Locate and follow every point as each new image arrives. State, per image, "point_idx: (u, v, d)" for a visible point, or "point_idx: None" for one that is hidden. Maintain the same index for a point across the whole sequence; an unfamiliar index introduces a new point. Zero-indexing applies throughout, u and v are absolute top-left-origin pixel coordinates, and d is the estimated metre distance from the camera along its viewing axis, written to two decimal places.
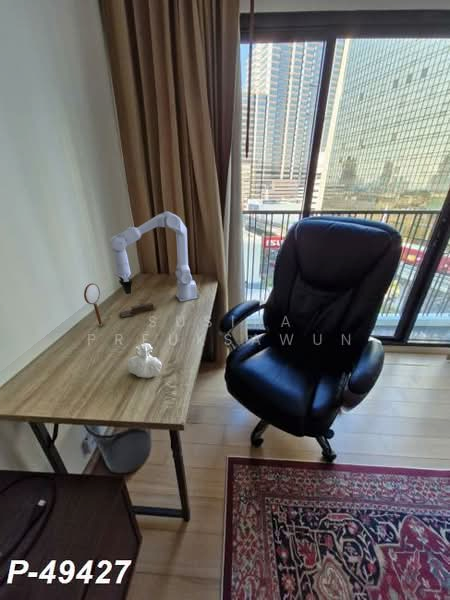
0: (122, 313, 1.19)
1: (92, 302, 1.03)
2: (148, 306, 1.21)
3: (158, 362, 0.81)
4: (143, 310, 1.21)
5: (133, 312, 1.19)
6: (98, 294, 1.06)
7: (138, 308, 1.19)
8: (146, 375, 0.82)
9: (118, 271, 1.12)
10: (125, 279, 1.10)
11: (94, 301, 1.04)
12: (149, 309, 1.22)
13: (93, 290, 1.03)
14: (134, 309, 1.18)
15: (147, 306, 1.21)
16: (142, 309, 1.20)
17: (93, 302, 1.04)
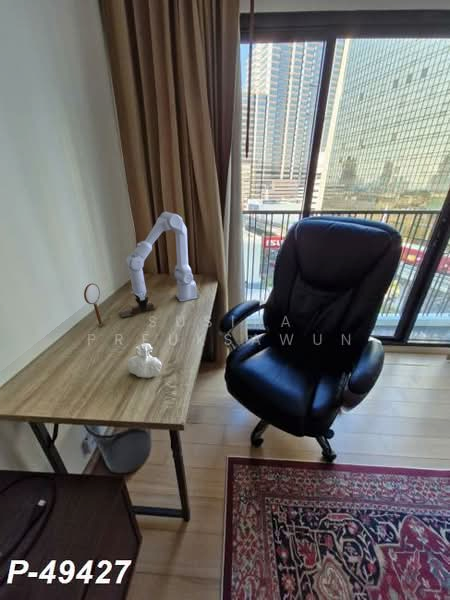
0: (122, 313, 1.19)
1: (92, 302, 1.03)
2: (148, 306, 1.21)
3: (158, 362, 0.81)
4: None
5: (133, 312, 1.19)
6: (98, 294, 1.06)
7: (138, 308, 1.19)
8: (146, 375, 0.82)
9: (134, 289, 1.14)
10: (141, 298, 1.11)
11: (94, 301, 1.04)
12: (149, 309, 1.22)
13: (93, 290, 1.03)
14: (134, 309, 1.18)
15: (147, 306, 1.21)
16: None
17: (93, 302, 1.04)
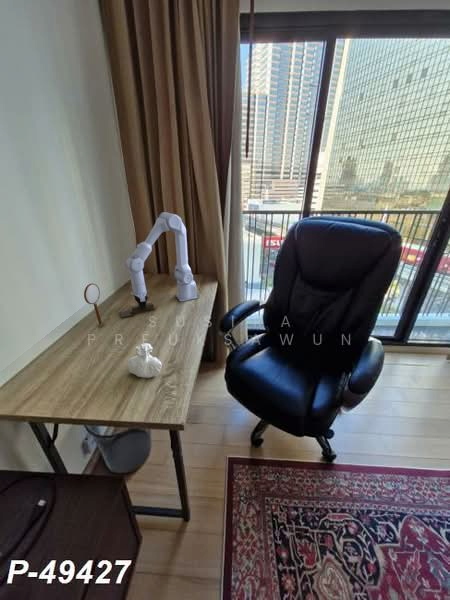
0: (122, 313, 1.19)
1: (92, 302, 1.03)
2: (148, 306, 1.21)
3: (158, 362, 0.81)
4: (143, 310, 1.21)
5: (133, 312, 1.19)
6: (98, 294, 1.06)
7: (138, 308, 1.19)
8: (146, 375, 0.82)
9: (134, 291, 1.14)
10: (142, 299, 1.11)
11: (94, 301, 1.04)
12: (149, 309, 1.22)
13: (93, 290, 1.03)
14: (134, 309, 1.18)
15: (147, 306, 1.21)
16: (142, 310, 1.20)
17: (93, 302, 1.04)
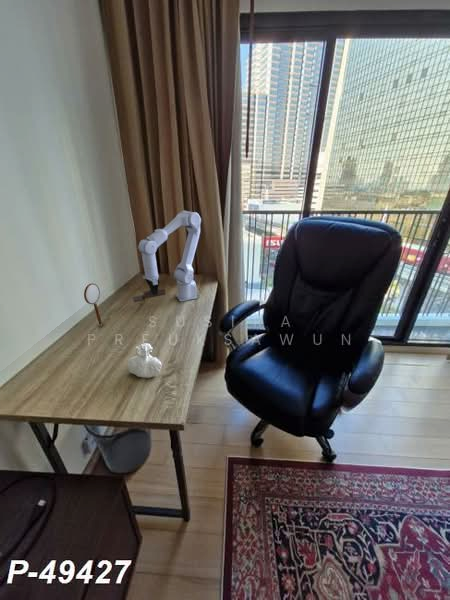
0: (134, 297, 1.18)
1: (92, 302, 1.03)
2: (160, 291, 1.20)
3: (158, 362, 0.81)
4: (155, 295, 1.20)
5: (145, 296, 1.18)
6: (98, 294, 1.06)
7: (150, 292, 1.18)
8: (146, 375, 0.82)
9: (147, 274, 1.14)
10: (154, 282, 1.11)
11: (94, 301, 1.04)
12: (161, 294, 1.21)
13: (93, 290, 1.03)
14: (146, 293, 1.18)
15: (159, 291, 1.20)
16: None
17: (93, 302, 1.04)
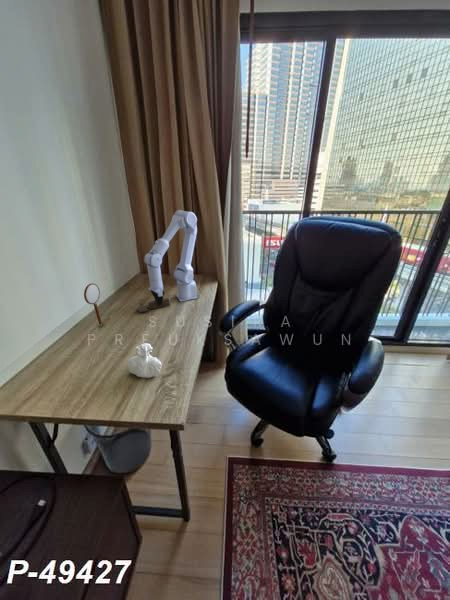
0: (139, 308, 1.22)
1: (92, 302, 1.03)
2: (164, 301, 1.24)
3: (158, 362, 0.81)
4: (159, 305, 1.23)
5: (150, 307, 1.21)
6: (98, 294, 1.06)
7: (155, 303, 1.22)
8: (146, 375, 0.82)
9: (152, 286, 1.17)
10: (159, 294, 1.14)
11: (94, 301, 1.04)
12: (165, 304, 1.24)
13: (93, 290, 1.03)
14: (151, 304, 1.21)
15: (163, 301, 1.23)
16: (159, 305, 1.23)
17: (93, 302, 1.04)
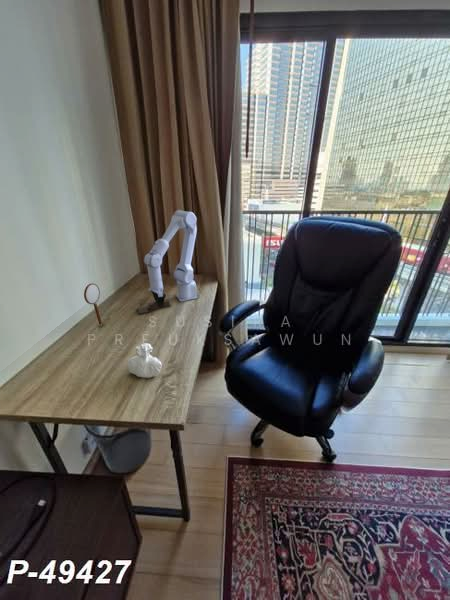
0: (139, 309, 1.22)
1: (92, 302, 1.03)
2: (164, 303, 1.24)
3: (158, 362, 0.81)
4: None
5: (150, 308, 1.22)
6: (98, 294, 1.06)
7: (155, 304, 1.22)
8: (146, 375, 0.82)
9: (152, 286, 1.17)
10: (159, 294, 1.14)
11: (94, 301, 1.04)
12: (165, 305, 1.25)
13: (93, 290, 1.03)
14: (151, 305, 1.21)
15: None
16: None
17: (93, 302, 1.04)
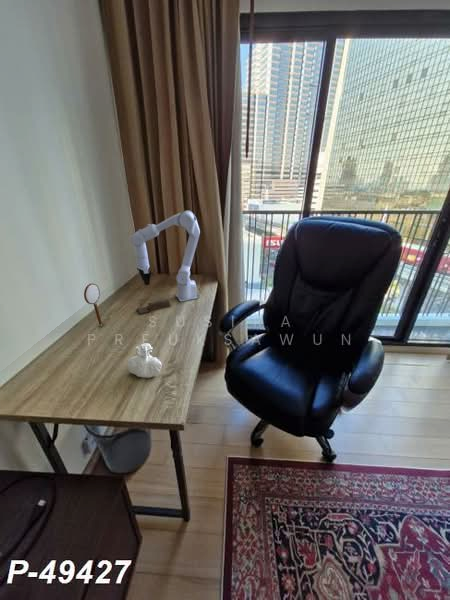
0: (139, 309, 1.22)
1: (92, 302, 1.03)
2: (164, 303, 1.24)
3: (158, 362, 0.81)
4: (160, 306, 1.24)
5: (150, 308, 1.22)
6: (98, 294, 1.06)
7: (155, 304, 1.22)
8: (146, 375, 0.82)
9: (138, 264, 1.23)
10: (145, 271, 1.20)
11: (94, 301, 1.04)
12: (165, 305, 1.25)
13: (93, 290, 1.03)
14: (151, 305, 1.21)
15: (163, 303, 1.24)
16: (159, 306, 1.23)
17: (93, 302, 1.04)
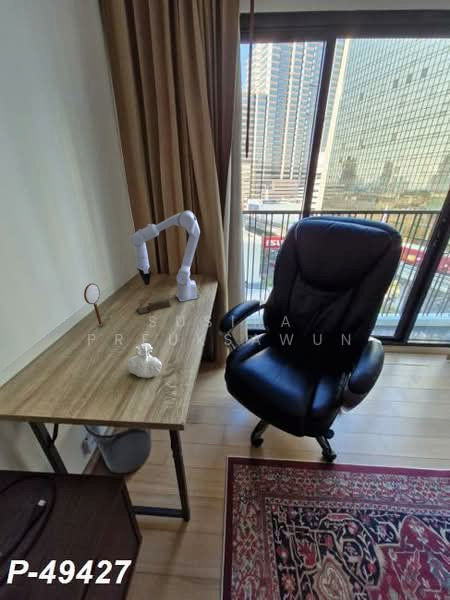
0: (139, 309, 1.22)
1: (92, 302, 1.03)
2: (164, 303, 1.24)
3: (158, 362, 0.81)
4: (160, 306, 1.24)
5: (150, 308, 1.22)
6: (98, 294, 1.06)
7: (155, 304, 1.22)
8: (146, 375, 0.82)
9: (138, 264, 1.23)
10: (145, 271, 1.20)
11: (94, 301, 1.04)
12: (165, 305, 1.25)
13: (93, 290, 1.03)
14: (151, 305, 1.21)
15: (163, 303, 1.24)
16: (159, 306, 1.23)
17: (93, 302, 1.04)
